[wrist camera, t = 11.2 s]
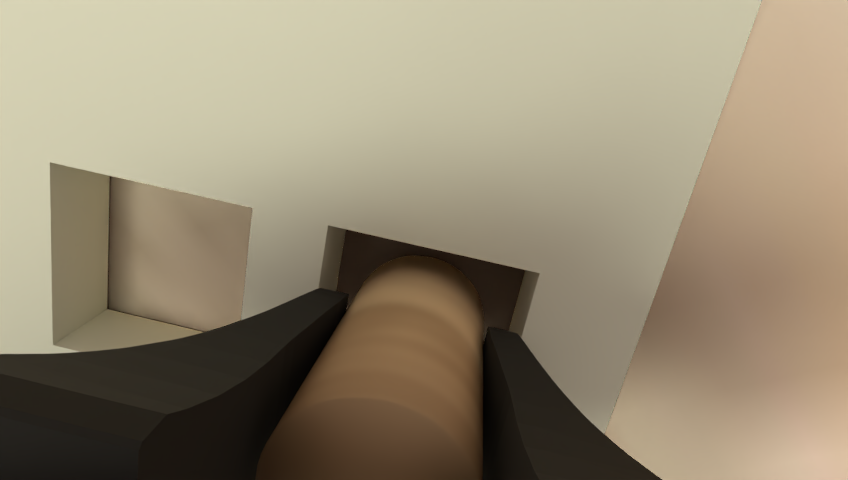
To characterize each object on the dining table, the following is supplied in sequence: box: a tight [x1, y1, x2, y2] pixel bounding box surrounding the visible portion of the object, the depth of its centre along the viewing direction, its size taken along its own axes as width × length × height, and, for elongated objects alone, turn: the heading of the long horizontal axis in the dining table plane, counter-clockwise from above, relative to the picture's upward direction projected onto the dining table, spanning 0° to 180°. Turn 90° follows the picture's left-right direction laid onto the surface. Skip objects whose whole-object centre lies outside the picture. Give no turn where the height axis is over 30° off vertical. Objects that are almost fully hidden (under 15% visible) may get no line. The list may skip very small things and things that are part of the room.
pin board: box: [0, 0, 762, 434], centre depth 12 cm, size 20×15×5 cm
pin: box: [256, 255, 484, 480], centre depth 10 cm, size 3×3×6 cm
